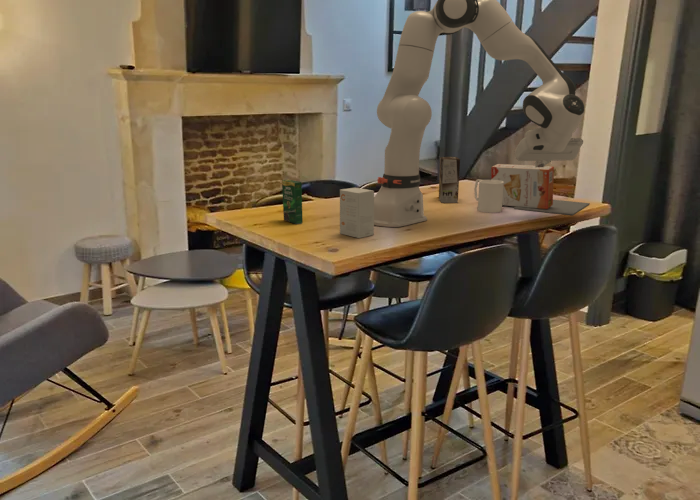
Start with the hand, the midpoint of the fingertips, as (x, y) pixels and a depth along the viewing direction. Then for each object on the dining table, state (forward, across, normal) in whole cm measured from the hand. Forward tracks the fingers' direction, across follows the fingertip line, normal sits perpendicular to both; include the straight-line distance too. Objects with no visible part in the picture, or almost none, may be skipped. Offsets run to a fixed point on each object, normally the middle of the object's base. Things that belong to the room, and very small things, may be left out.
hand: (539, 165), depth 207 cm
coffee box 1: (+7, +83, +16) cm, 85 cm away
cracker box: (+7, -6, +4) cm, 10 cm away
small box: (-7, +65, +30) cm, 72 cm away
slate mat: (+18, -10, +5) cm, 21 cm away
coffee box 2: (+29, +24, -6) cm, 38 cm away
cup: (+16, +15, +7) cm, 23 cm away
